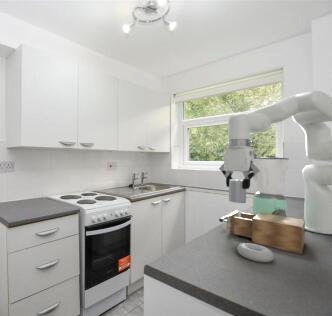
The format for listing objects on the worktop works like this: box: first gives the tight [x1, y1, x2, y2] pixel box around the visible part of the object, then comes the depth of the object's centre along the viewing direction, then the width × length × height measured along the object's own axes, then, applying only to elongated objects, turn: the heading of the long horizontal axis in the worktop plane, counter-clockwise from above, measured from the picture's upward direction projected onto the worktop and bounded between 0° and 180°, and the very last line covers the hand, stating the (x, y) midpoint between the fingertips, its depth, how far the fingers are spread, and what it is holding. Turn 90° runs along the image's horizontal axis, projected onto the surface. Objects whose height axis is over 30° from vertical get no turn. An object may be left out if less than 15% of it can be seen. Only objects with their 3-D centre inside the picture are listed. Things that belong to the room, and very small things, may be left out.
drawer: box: [218, 210, 256, 239], centre depth 96 cm, size 18×13×8 cm
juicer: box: [251, 155, 290, 217], centre depth 108 cm, size 19×13×35 cm
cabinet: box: [251, 213, 306, 255], centre depth 88 cm, size 15×15×10 cm
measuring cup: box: [228, 178, 247, 204], centre depth 91 cm, size 6×6×9 cm
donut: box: [237, 242, 275, 263], centre depth 75 cm, size 10×4×10 cm
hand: (237, 187), depth 91 cm, fingers closed on measuring cup, 6 cm apart
